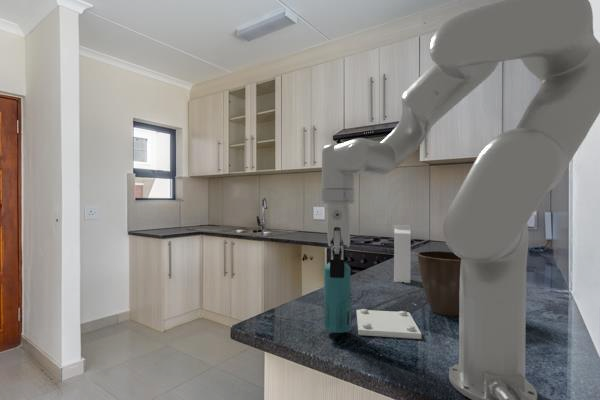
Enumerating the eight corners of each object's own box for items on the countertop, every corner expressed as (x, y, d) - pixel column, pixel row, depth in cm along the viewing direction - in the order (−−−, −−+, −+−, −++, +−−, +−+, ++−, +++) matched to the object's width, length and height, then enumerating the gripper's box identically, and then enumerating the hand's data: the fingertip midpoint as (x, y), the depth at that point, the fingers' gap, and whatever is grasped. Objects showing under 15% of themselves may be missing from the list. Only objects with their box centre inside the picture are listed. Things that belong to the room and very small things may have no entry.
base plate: (421, 338, 72) (421, 331, 72) (358, 335, 74) (358, 327, 74) (409, 316, 86) (409, 310, 86) (356, 313, 88) (356, 307, 88)
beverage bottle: (351, 341, 71) (351, 251, 71) (321, 338, 72) (321, 249, 73) (352, 329, 78) (352, 246, 78) (324, 327, 79) (325, 246, 79)
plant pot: (424, 299, 101) (424, 249, 101) (478, 309, 93) (478, 254, 93) (410, 313, 89) (411, 255, 89) (471, 325, 80) (471, 262, 80)
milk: (394, 278, 129) (394, 223, 129) (409, 279, 127) (410, 224, 127) (394, 282, 123) (394, 224, 123) (410, 283, 121) (410, 225, 122)
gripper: (355, 197, 66) (354, 283, 66) (353, 197, 83) (352, 266, 83) (318, 196, 67) (318, 282, 67) (324, 197, 84) (323, 265, 84)
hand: (337, 273), depth 75 cm, fingers closed on beverage bottle, 6 cm apart
